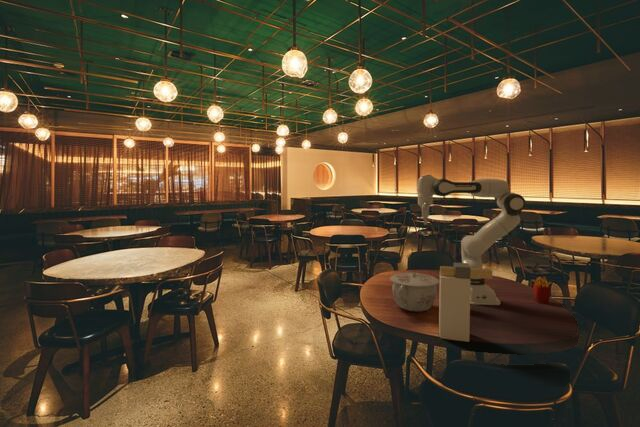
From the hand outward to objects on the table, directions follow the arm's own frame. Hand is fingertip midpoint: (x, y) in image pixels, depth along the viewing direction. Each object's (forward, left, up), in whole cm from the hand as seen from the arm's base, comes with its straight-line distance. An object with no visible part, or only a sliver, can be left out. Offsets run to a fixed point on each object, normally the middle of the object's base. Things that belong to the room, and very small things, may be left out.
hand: (425, 223), depth 189 cm
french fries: (-65, -13, -47) cm, 82 cm away
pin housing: (-12, +50, -47) cm, 69 cm away
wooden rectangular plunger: (-17, +50, -19) cm, 56 cm away
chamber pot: (+6, +19, -47) cm, 51 cm away
